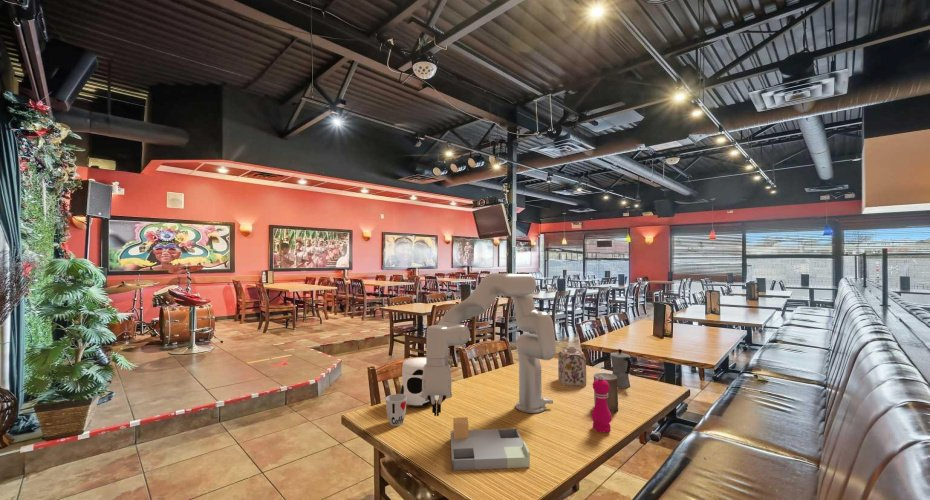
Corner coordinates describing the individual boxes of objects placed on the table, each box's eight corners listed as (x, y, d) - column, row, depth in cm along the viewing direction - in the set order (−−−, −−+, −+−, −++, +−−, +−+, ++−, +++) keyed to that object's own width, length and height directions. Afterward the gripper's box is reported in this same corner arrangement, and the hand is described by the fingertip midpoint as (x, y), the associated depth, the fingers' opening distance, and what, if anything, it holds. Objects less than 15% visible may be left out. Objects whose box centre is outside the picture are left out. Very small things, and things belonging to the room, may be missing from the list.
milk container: (410, 393, 183) (410, 356, 183) (444, 397, 178) (444, 358, 178) (393, 407, 166) (393, 366, 166) (430, 412, 161) (430, 369, 161)
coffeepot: (605, 381, 199) (604, 346, 199) (621, 380, 200) (621, 345, 201) (621, 391, 184) (621, 353, 184) (639, 390, 185) (639, 352, 185)
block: (467, 431, 136) (467, 417, 136) (468, 438, 131) (468, 423, 131) (453, 431, 136) (453, 417, 136) (453, 438, 131) (453, 423, 131)
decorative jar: (586, 386, 191) (586, 350, 192) (563, 386, 192) (563, 350, 192) (580, 378, 203) (579, 344, 204) (558, 378, 204) (557, 344, 204)
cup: (389, 429, 145) (389, 402, 145) (383, 421, 152) (383, 396, 152) (409, 425, 149) (409, 399, 149) (403, 417, 156) (402, 392, 156)
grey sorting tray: (517, 436, 138) (516, 424, 138) (529, 467, 118) (529, 452, 118) (450, 439, 137) (450, 426, 137) (452, 470, 117) (452, 455, 117)
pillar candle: (621, 407, 164) (621, 372, 164) (612, 414, 157) (611, 377, 157) (599, 402, 171) (599, 368, 171) (590, 408, 163) (589, 373, 164)
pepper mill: (609, 434, 139) (608, 379, 140) (589, 430, 143) (588, 376, 143) (613, 427, 145) (612, 374, 146) (594, 423, 149) (593, 371, 150)
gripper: (458, 358, 138) (457, 410, 137) (416, 358, 137) (415, 410, 136) (458, 364, 130) (458, 418, 130) (414, 364, 129) (414, 419, 129)
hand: (436, 414), depth 133 cm, fingers closed
